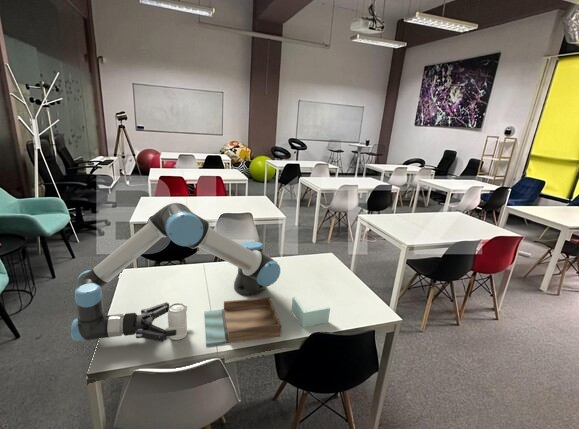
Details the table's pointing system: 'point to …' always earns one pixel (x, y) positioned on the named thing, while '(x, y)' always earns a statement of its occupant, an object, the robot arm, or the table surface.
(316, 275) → the table surface
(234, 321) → the grooved wooden tray
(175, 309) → the can
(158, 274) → the table surface
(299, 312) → the l-shaped corner panel
